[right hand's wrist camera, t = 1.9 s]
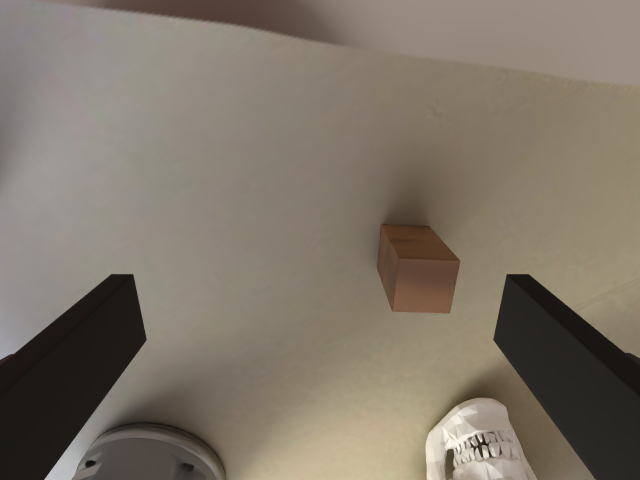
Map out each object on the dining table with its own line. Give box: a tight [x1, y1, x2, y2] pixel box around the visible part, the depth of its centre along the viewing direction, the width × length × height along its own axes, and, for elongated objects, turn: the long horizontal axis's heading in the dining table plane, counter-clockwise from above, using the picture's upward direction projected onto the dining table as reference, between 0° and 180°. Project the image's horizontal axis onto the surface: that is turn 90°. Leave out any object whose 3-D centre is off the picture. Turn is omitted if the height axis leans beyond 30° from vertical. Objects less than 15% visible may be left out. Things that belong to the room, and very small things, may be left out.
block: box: [377, 225, 460, 313], centre depth 27 cm, size 4×4×7 cm
